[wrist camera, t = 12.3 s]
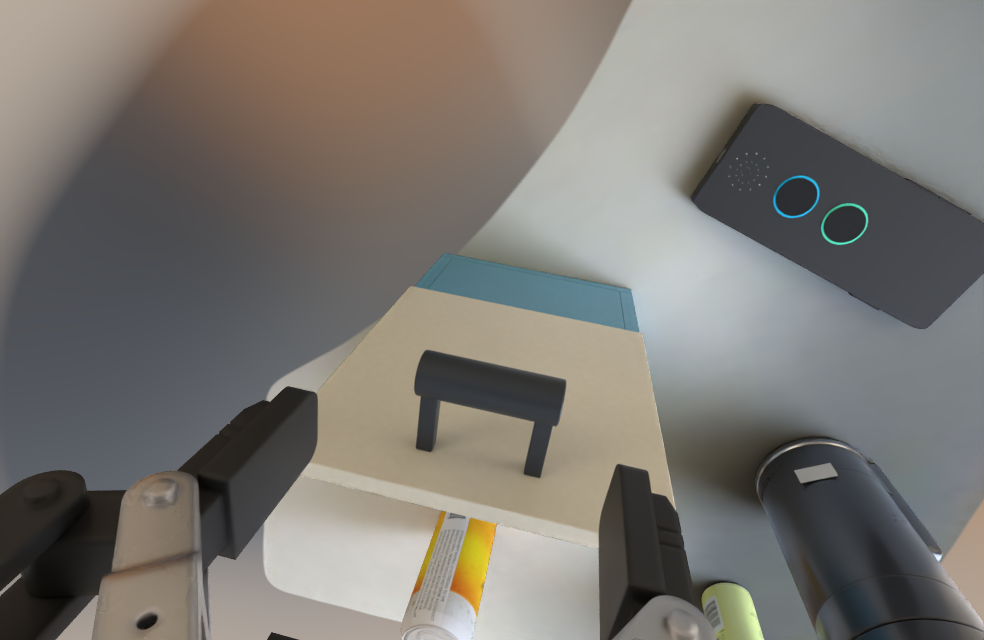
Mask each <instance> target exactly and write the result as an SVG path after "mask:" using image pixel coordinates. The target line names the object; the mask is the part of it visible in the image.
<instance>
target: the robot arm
mask: <svg viewBox="0 0 984 640" xmlns="http://www.w3.org/2000/svg"><path fill="white" fill-rule="evenodd" d="M317 440H318V397H317V394H316V393H315V392H311V391H307V390H302V389H298V388H294V387H289V386H288V387H286V388H284V389H283V390H282V391H281V392H280V393H279V394H278V395H277V396H276V397H275V398H274V399H273V400H272V401H271V402H269V401H264V400H263V401H260V402H258V403H256V404H254V405H252V406H250V407H248V408H246V409H244V410H243V411H242V412H241V413H240V414H238V415H237V416H236V417H235V418H234V419H233V420H232V421H231V423H230V424H227V425H226V426H225V427H224V428H223V429H222V430H221V431H220V433H219V435H218V434H217V435H215V436H214V437H213V438H212V439H211V440H210V441H209V442H208V443H207V444H206V445H205V446H203V447H202V448H201V449H200V450H199V451H198V452H197V453H196V454H195V455H194V456H193V457H192V458H190V459H189V460H188V461H187V462H186V463H185V464H184V465H183V466H182V467H180V468H179V469H178V470H177V471H165V472H160V473H156V474H153V475H150V476H148V477H145V478H143V479H141V480H140V481H138V482H136V483H135V484H133V485H132V486H131V487H130V488H129V489H128V490H120V491H119V490H118V491H117V490H116V491H115V490H114V491H87V489H86V484H85V480H84V479H83V477H82V476H81V475H80V474H78V473H76V472H72V471H65V470H64V471H63V470H58V471H50V472H44V473H41V474H37V475H34V476H31V477H28V478H26V479H24V480H22V481H20V482H18V483H17V484H15V485H13V486H12V487H10V488H9V489H8V490H6V491H5V492H4V493H2V494H1V495H0V591H1V590H2V589H3V588H4V587H6V585H8V584H9V583H10V582H11V581H12V580H13V579H14V578H15V577H16V576H18V575H19V574H20V573H21V575H22V577H21V578H19V579H18V580H17V581H16V582H15V583H14V584H13V585H12V586H11V587H10V588H9V589H8V590H6V591H5V592H4V593H3V594H2V595H1V596H0V640H55V639H57V638H58V636H59V635H60V634H61V633H62V632H63V631H64V630H65V629H66V628H67V626H68V625H69V624H70V623H71V622H72V621H73V620H74V619H75V618H76V617H77V615H78V614H79V613H80V612H81V611H82V610H83V609H84V608H85V607H86V606H87V604H88V603H89V602H90V601H91V600H92V599H93V598H94V597H95V596H96V595H99V597H98V603H97V609H96V615H95V621H94V628H93V634H92V640H211V613H210V586H209V569H208V566H209V565H210V564H211V563H212V561H213V560H214V559H215V558H216V557H217V555H220V556H223V557H227V558H231V559H234V560H236V558H237V557H238V556H239V554H240V553H241V552H242V550H243V549H244V548H245V546H246V545H247V544H248V542H249V541H250V540H251V539H252V537H253V536H254V535H255V533H256V532H257V531H258V529H259V528H260V527H261V525H262V524H263V523H264V522H265V520H266V519H267V518H268V516H269V515H270V514H271V512H272V511H273V510H274V508H275V507H276V506H277V504H278V503H279V502H280V500H281V499H282V498H283V497H284V495H285V494H286V493H287V491H288V490H289V489H290V487H291V486H292V485H293V483H294V482H295V481H296V479H297V478H298V477H299V475H300V474H301V473H302V472H303V470H304V469H305V468H306V466H307V465H308V464H309V462H310V461H311V459H312V457H313V455H314V452H315V450H316V446H317ZM755 489H756V492H757V495H758V497H759V500H760V502H761V504H762V505H763V507H764V509H765V511H766V514H767V516H768V519H769V521H770V524H771V526H772V529H773V531H774V534H775V536H776V538H777V541H778V543H779V545H780V548H781V550H782V553H783V555H784V557H785V560H786V562H787V565H788V567H789V569H790V572H791V574H792V577H793V579H794V581H795V584H796V586H797V588H798V591H799V593H800V596H801V598H802V600H803V603H804V605H805V608H806V610H807V612H808V615H809V617H810V620H811V622H812V624H813V627H814V629H815V632H816V634H817V636H818V639H819V640H984V622H983V621H982V619H981V618H980V617H979V615H978V614H977V613H976V611H975V610H974V609H973V607H972V606H971V604H970V603H969V602H968V600H967V599H966V598H965V597H964V595H963V594H962V593H961V591H960V590H959V589H958V587H957V586H956V584H955V583H954V582H953V580H952V579H951V578H950V576H949V575H948V574H947V572H946V571H945V570H944V568H943V567H942V565H941V564H940V563H939V560H940V559H941V557H942V550H941V548H940V546H939V545H938V544H937V542H936V541H935V540H934V539H933V537H932V536H931V535H930V533H929V532H928V531H927V529H926V528H925V527H924V525H923V524H922V523H921V522H920V520H919V519H918V518H917V516H916V515H915V514H914V512H913V511H912V510H911V509H910V507H909V506H908V505H907V503H906V502H905V501H904V499H903V498H902V497H901V495H900V494H899V493H898V492H897V490H896V489H895V488H894V486H893V485H892V484H891V482H890V481H889V480H888V478H887V477H886V476H885V475H884V473H883V472H882V471H881V469H880V468H879V467H878V466H877V465H873V464H870V463H867V461H866V460H865V459H864V457H863V456H862V455H861V454H860V453H859V452H858V451H857V450H855V449H854V448H852V447H851V446H849V445H847V444H845V443H842V442H839V441H836V440H831V439H824V438H809V439H802V440H798V441H794V442H791V443H788V444H786V445H784V446H782V447H780V448H778V449H776V450H775V451H773V452H772V453H771V454H770V455H768V456H767V457H766V458H765V460H764V461H763V462H762V463H761V465H760V467H759V468H758V471H757V473H756V477H755ZM599 602H600V640H719V639H717V638H716V634H715V631H714V629H713V627H712V625H711V624H710V622H709V621H708V619H707V618H706V617H705V616H704V615H703V613H702V612H701V611H699V610H698V609H697V605H696V601H695V596H694V591H693V586H692V581H691V576H690V571H689V566H688V561H687V556H686V551H685V550H684V541H683V537H682V535H681V527H680V522H679V517H678V513H677V512H676V510H675V509H674V507H673V506H672V504H671V503H670V501H669V500H668V498H667V497H666V496H664V495H660V494H655V493H652V492H651V485H650V478H649V473H648V471H647V470H644V469H640V468H635V467H631V466H627V465H622V464H617V465H616V467H615V470H614V473H613V476H612V479H611V482H610V486H609V489H608V492H607V495H606V498H605V501H604V504H603V508H602V511H601V516H600V522H599ZM267 640H297V639H294V638H290V637H287V636H283V635H280V634H276V633H273V632H271V634H270V636H269V637H268V639H267Z"/></svg>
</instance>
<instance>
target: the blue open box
mask: <svg viewBox="0 0 984 640" xmlns="http://www.w3.org/2000/svg"><path fill="white" fill-rule="evenodd" d="M414 287H419V288H424V289H428V290H433V291H438V292H443V293H448V294H453V295H458V296H463V297H468V298H472V299H477V300H482V301H487V302H492V303H497V304H502V305H507V306H512V307H516V308H521V309H526V310H531V311H536V312H541V313H546V314H551V315H556V316H560V317H565V318H570V319H575V320H580V321H585V322H590V323H595V324H600V325H604V326H609V327H614V328H619V329H624V330H629V331H634V332H639V328H638V323H637V318H636V313H635V308H634V303H633V298H632V293H631V289H626V288H621V287H616V286H611V285H606V284H601V283H596V282H591V281H585V280H580V279H575V278H570V277H565V276H560V275H555V274H550V273H545V272H540V271H535V270H530V269H525V268H519V267H514V266H509V265H504V264H499V263H494V262H489V261H484V260H479V259H474V258H469V257H464V256H459V255H453V254H448V253H444V254H443V255H442V256H441V257H440V258H439V260H438V261H437V262H436V263H435V264H434V265H433V266H432V267H431V268H430V270H429V271H428V272H427V273H426V274H425V275H424V276H423V277H422V278H421V279H420V281H419V282H418V283H417V284H416V285H415V286H414Z"/></svg>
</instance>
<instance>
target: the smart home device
mask: <svg viewBox="0 0 984 640" xmlns="http://www.w3.org/2000/svg"><path fill="white" fill-rule="evenodd" d="M691 200H692V201H693V203H694V204H695V205H696V206H697V207H698V208H699V209H700V210H701V211H703V212H704V213H706V214H708V215H709V216H711V217H713V218H715V219H717V220H718V221H720V222H722V223H724V224H726V225H728V226H729V227H731V228H733V229H735V230H737V231H738V232H740V233H742V234H744V235H746V236H748V237H749V238H751V239H753V240H755V241H757V242H758V243H760V244H762V245H764V246H766V247H768V248H769V249H771V250H773V251H775V252H777V253H778V254H780V255H782V256H784V257H786V258H787V259H789V260H791V261H793V262H795V263H797V264H798V265H800V266H802V267H804V268H806V269H807V270H809V271H811V272H813V273H815V274H817V275H818V276H820V277H822V278H824V279H826V280H827V281H829V282H831V283H833V284H835V285H837V286H838V287H840V288H842V289H844V290H846V291H847V292H848V293H849V294H850V295H852V296H854V297H855V298H857V299H859V300H861V301H863V302H864V303H866V304H868V305H870V306H872V307H874V308H875V309H877V310H879V309H880V310H882V311H884V312H886V313H887V314H889V315H891V316H893V317H895V318H897V319H898V320H900V321H902V322H904V323H906V324H907V325H909V326H912V327H914V328H918V329H926V328H928V327H929V326H930V325H931V324H932V323H933V322H934V321H935V320H936V319H937V318H938V317H939V316H940V315H941V314H942V313H943V312H944V311H945V310H946V309H948V308H949V307H950V306H951V305H952V304H953V303H954V302H955V301H956V300H957V299H958V298H959V297H960V296H961V295H962V294H963V293H964V292H965V291H966V290H967V289H968V288H969V287H970V286H971V285H972V284H973V283H974V282H975V281H976V280H977V279H978V278H979V277H980V276H981V275H982V274H983V273H984V223H982V222H980V221H979V220H977V219H975V218H973V217H972V216H970V215H971V214H970V213H968V212H966V211H964V210H963V209H961V208H959V207H957V206H956V205H954V204H952V203H950V202H948V201H947V200H945V199H943V198H941V197H939V196H938V195H936V194H934V193H932V192H931V191H929V190H927V189H925V188H924V187H922V186H920V185H918V184H916V183H915V182H913V181H911V180H909V179H906V178H905V179H904V178H902V177H901V176H899V175H897V174H895V173H893V172H892V171H890V170H888V169H886V168H885V167H883V166H881V165H879V164H877V163H876V162H874V161H872V160H870V159H869V158H867V157H865V156H863V155H861V154H860V153H858V152H856V151H854V150H853V149H851V148H849V147H847V146H845V145H844V144H842V143H840V142H838V141H837V140H835V139H833V138H831V137H829V136H828V135H826V134H824V133H822V132H821V131H819V130H817V129H815V128H813V127H812V126H810V125H808V124H806V123H805V122H803V121H801V120H799V119H797V118H796V117H794V116H792V115H790V114H789V113H787V112H785V111H783V110H782V109H780V108H778V107H776V106H773V105H769V104H754V105H753V106H752V107H751V108H750V110H749V111H748V113H747V114H746V116H745V117H744V119H743V120H742V122H741V123H740V125H739V126H738V127H737V129H736V130H735V132H734V133H733V135H732V136H731V138H730V139H729V141H728V142H727V144H726V145H725V147H724V148H723V150H722V151H721V153H720V154H719V156H718V157H717V158H716V160H715V161H714V163H713V164H712V166H711V167H710V169H709V170H708V172H707V173H706V175H705V176H704V178H703V179H702V181H701V182H700V184H699V185H698V187H697V188H696V190H695V191H694V192H693V194H692V195H691Z"/></svg>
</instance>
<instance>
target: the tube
mask: <svg viewBox="0 0 984 640" xmlns="http://www.w3.org/2000/svg"><path fill="white" fill-rule="evenodd" d="M701 600H702V606H703V610H704V614H705V617H706V618H707V619H708V621H709V622H710V624H711V625H712V627H713V629H714V631H715V634H716V638H717V639H719V640H764V639H763V635H762V632H761V629H760V625H759V622H758V618H757V615H756V612H755V608H754V605H753V602H752V599H751V596H750V594H749V593H748V591H747V590H746V589H744V588H743V587H741V586H739V585H737V584H733V583H718V584H715V585H712V586H710V587H709V588H707V589H706V590H705V591H704V593H703V594H702V599H701Z"/></svg>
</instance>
